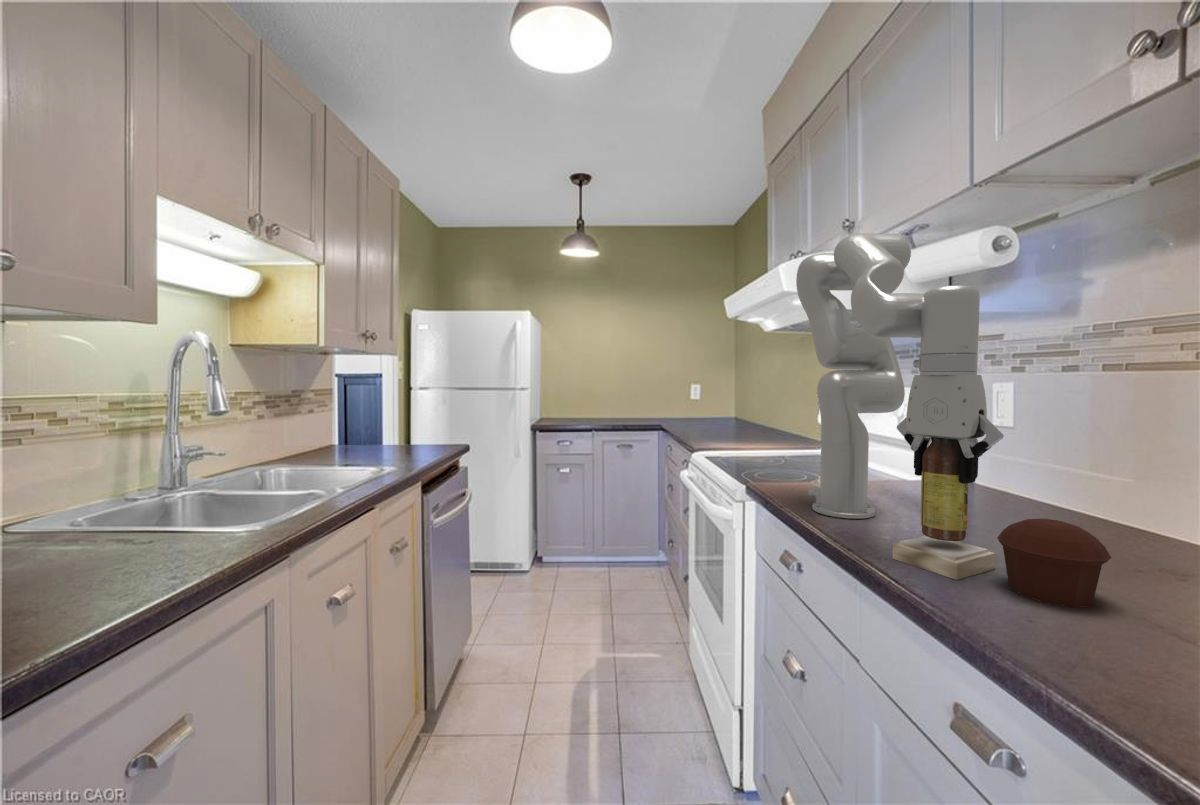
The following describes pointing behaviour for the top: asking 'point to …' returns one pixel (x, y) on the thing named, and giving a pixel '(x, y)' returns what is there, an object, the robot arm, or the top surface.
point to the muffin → (1053, 561)
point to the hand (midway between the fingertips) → (944, 477)
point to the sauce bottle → (943, 492)
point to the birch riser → (944, 556)
